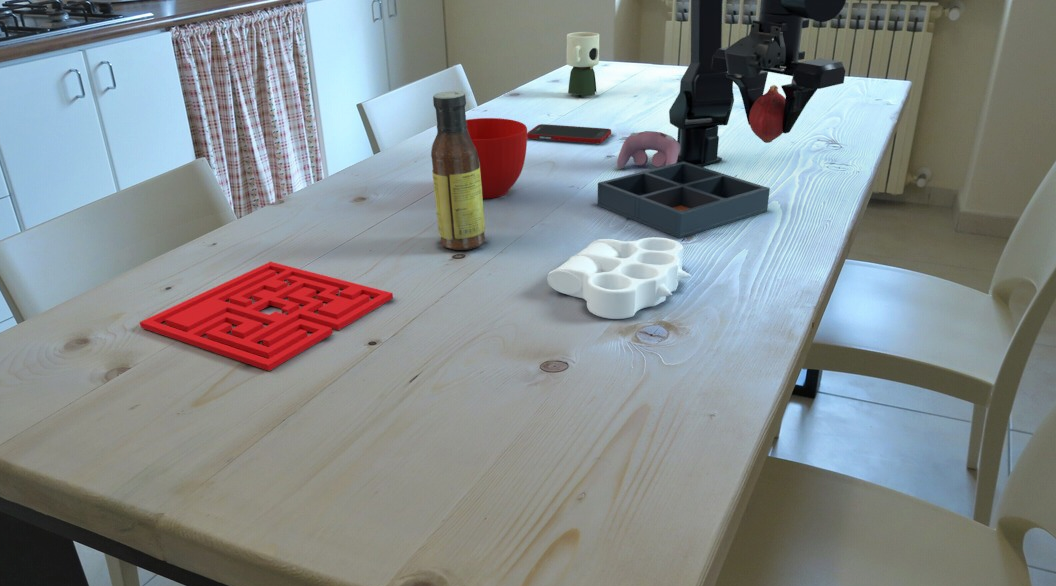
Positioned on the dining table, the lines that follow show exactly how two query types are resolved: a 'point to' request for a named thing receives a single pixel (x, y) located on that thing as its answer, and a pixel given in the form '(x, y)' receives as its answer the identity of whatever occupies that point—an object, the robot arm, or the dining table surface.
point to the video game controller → (649, 141)
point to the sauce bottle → (456, 176)
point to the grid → (682, 198)
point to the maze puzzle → (282, 330)
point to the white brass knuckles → (621, 275)
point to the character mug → (582, 62)
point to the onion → (768, 115)
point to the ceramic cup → (498, 152)
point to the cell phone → (569, 133)
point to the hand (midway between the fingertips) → (768, 128)
